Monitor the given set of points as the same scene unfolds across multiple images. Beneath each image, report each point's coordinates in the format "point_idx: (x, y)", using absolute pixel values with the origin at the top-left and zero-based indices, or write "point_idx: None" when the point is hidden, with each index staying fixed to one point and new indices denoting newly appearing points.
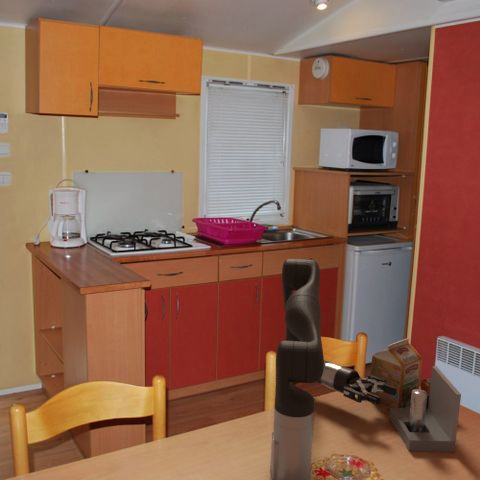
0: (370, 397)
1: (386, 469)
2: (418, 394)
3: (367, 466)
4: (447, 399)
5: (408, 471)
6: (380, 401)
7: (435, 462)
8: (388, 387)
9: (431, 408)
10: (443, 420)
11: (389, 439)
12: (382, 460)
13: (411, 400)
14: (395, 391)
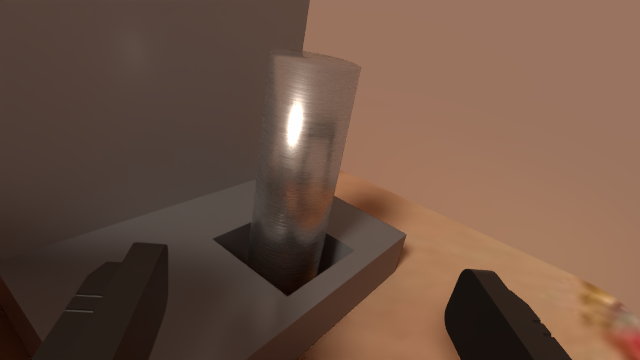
0: (560, 348)
1: (545, 279)
2: (345, 63)
3: (615, 322)
4: (244, 47)
5: (478, 241)
6: (453, 294)
7: (369, 214)
8: (139, 316)
9: (60, 216)
10: (222, 155)
11: (401, 353)
12: (534, 305)
13: (342, 124)
14: (163, 262)
